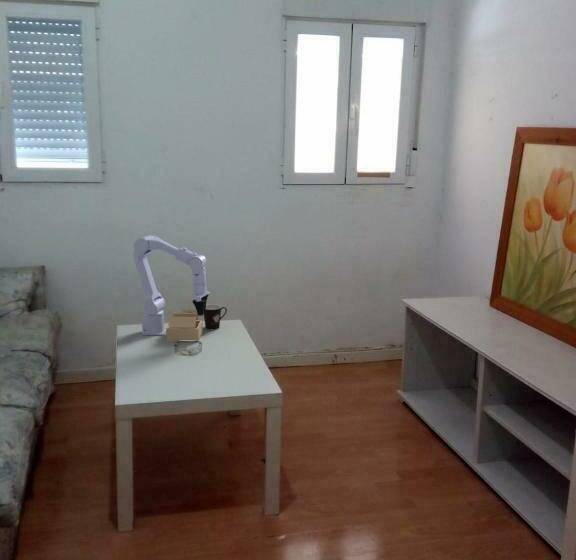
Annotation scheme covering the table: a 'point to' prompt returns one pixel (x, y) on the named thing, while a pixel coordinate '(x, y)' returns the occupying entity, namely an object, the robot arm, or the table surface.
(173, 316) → the flap far
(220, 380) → the table surface
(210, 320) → the coffee mug
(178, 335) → the carton
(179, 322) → the flap near
